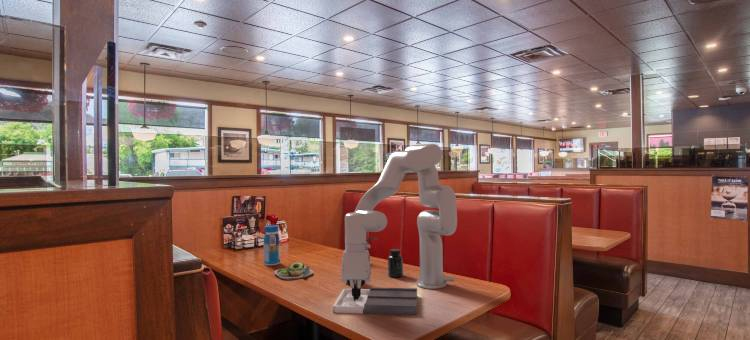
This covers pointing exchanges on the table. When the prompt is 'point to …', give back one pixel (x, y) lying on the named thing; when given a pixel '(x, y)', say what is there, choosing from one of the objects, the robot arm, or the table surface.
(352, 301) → the grey square block
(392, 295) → the slot block
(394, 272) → the supplement bottle
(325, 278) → the table surface
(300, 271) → the salad plate
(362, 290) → the tray
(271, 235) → the beverage bottle
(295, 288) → the table surface
